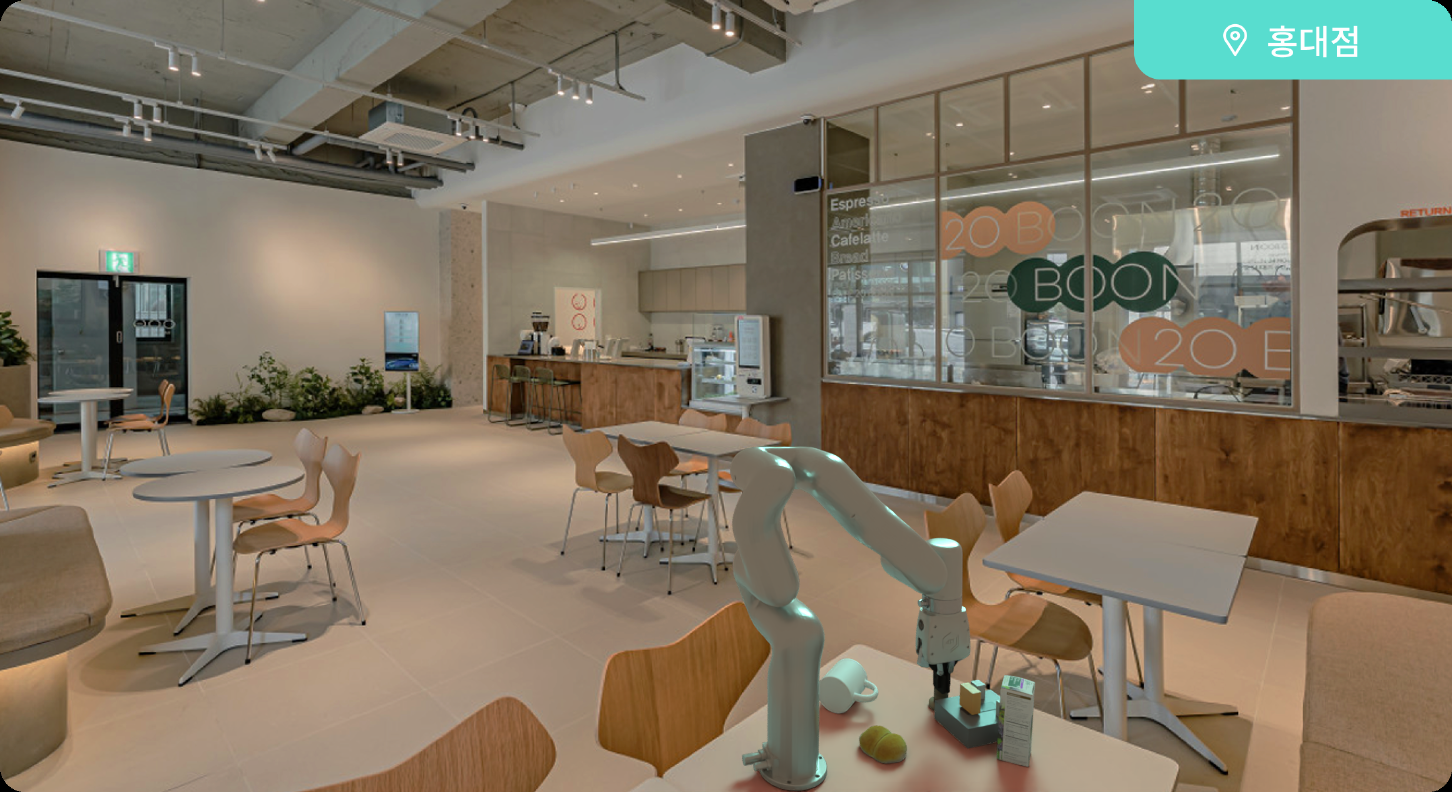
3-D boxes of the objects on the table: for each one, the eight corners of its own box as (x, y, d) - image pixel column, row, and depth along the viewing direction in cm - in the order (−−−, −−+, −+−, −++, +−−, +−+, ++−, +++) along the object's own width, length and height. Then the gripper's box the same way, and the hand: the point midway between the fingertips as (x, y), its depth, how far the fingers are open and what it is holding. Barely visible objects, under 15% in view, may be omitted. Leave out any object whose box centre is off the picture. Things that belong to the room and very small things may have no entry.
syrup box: (999, 743, 136) (1002, 673, 134) (1032, 752, 133) (1035, 680, 132) (996, 759, 131) (999, 686, 129) (1030, 768, 128) (1033, 694, 127)
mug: (816, 707, 149) (816, 672, 148) (834, 687, 157) (834, 653, 157) (869, 724, 143) (869, 687, 142) (885, 702, 151) (885, 667, 150)
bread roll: (890, 771, 128) (891, 751, 127) (852, 749, 134) (852, 730, 134) (916, 753, 133) (916, 733, 133) (878, 733, 140) (878, 714, 139)
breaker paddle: (971, 714, 138) (972, 693, 138) (959, 704, 142) (960, 683, 142) (980, 713, 139) (981, 691, 138) (967, 703, 143) (968, 682, 142)
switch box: (967, 748, 134) (968, 714, 134) (934, 718, 145) (935, 686, 144) (1026, 735, 138) (1027, 702, 138) (990, 707, 149) (991, 676, 148)
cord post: (937, 714, 146) (939, 651, 145) (924, 702, 151) (925, 641, 149) (957, 710, 148) (959, 648, 146) (943, 698, 152) (945, 638, 151)
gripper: (920, 615, 130) (920, 707, 132) (986, 603, 135) (985, 692, 136) (898, 600, 137) (898, 687, 139) (962, 589, 142) (961, 674, 144)
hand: (941, 690), depth 138 cm, fingers closed
